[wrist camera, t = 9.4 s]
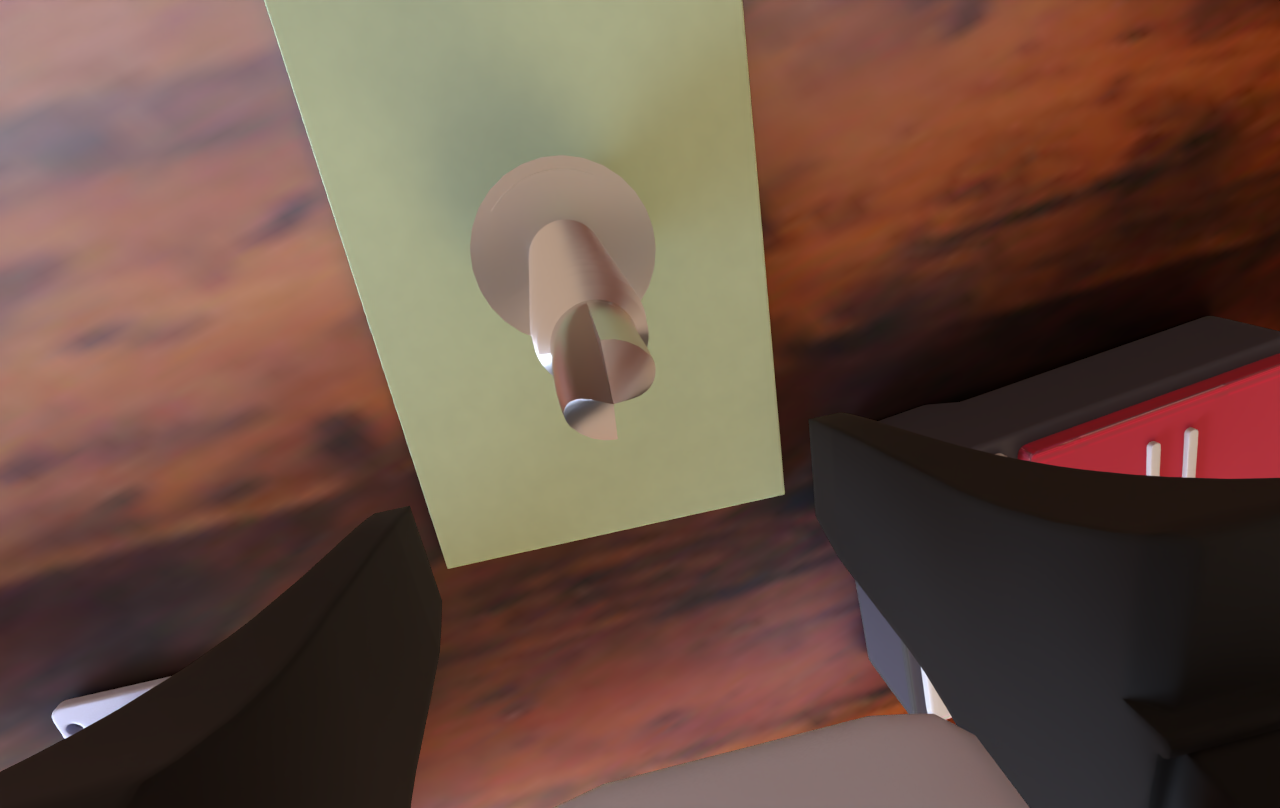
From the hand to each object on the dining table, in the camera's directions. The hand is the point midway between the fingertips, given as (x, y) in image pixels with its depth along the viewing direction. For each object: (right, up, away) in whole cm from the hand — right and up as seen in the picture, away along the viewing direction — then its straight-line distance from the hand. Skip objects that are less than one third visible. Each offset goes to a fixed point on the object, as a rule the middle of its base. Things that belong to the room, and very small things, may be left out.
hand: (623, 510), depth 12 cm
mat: (-2, +7, +8) cm, 11 cm away
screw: (-2, +7, +8) cm, 10 cm away
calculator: (+16, -2, +15) cm, 21 cm away
